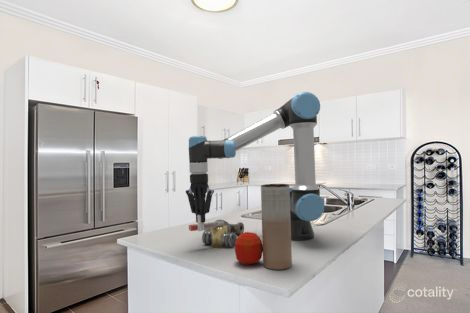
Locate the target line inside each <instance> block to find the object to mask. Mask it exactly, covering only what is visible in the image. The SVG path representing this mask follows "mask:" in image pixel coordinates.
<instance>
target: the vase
mask: <svg viewBox="0 0 470 313" xmlns="http://www.w3.org/2000/svg"><path fill="white" fill-rule="evenodd" d="M290 188H291V187H290V184H285V183H270V184H269V183H267V184H261V185H260V202H261V203H260V205H261V206H260V207H261V233H262V234H261V237H262V239H261V240H262V245H263V252H262V262H263V263H262V264H263V266H264V268H266V269H269V270H272V271H282V270H288V269H290V268H291V267H292V265H293V263H292V262H293V256H292V240H291V218H290Z"/></svg>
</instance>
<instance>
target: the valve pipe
mask: <svg viewBox="0 0 470 313" xmlns="http://www.w3.org/2000/svg"><path fill="white" fill-rule="evenodd" d="M237 237H238V236H237V233H231V232H227V226H223V227H214V228H211V230H205V231H204V230H203V233H202V237H201V242H202V243H203V244H204V245H211V247H212V248H215V249H218V248H219V249H221V248H226V247H227V248H235V241H236V239H237Z"/></svg>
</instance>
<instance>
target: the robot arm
mask: <svg viewBox="0 0 470 313" xmlns="http://www.w3.org/2000/svg"><path fill="white" fill-rule="evenodd" d="M320 110H321V102H320V100H319V98H318V97H317V95H315V93H312V92H309V91H301V92H299V93H297V94H295V95H293V97H291V98H290V99H289V100H288V101H287V102H285V103H284V104H283V105H282V106H280V107H279V108H277V109H275V110H273V113H272V114H270V115H269V116H266V117H264V118H262V119H260V120H258V121H257V122H255V123H253V124H251V125H249V126H247V127H245V128H243V129H241V130H240V131H238V132H236V133H234V134H231V135H229V136H228V137H226V138H224V139H221V140H218V139H217V140H208V139H207V136H206V135H193V136H190V137H189V138H188V161H189V166H188V167H189V183H190V186H189V188H188V189H187V190H185V194H186V196H187V198H188V199H187V200H188V203H189V207H190V211H191V213H192V214H195V222H196V223H197V224H198V230H197V231H198V232H203V231H204V223H206V214H209V213H210V210H211V209H210V208H211V204H212V198H213V195H214V193H215V190H214V189H211V188H210V186H209V184H208V183H209V174H208V171H209V170H208V167H209V166H208V159H219V160H222V159H231V158H232V159H233V158H235V157H236V153H237V151H239V150H241V149H243V148H245V147H247V146H249V145H251V144H252V143H254V142H256V141H258V140H261V139H262V138H264V137H266V136H268V135H270V134H271V133H274V132H276V131H277V130H280V129H283V130H285V129H286V128H288V127H289V128H291V129H292V131H293V132H292V135H293V157H294V159H293V162H294V186H293V187H290V218H291V241H307V240H311V239H314V238H315V233H314V232H315V231H314V229H313V226H312V223H311V222H314V221H316V220H318V219H319V218H320V217H321V216H322V215H323V213H324V211H325V203H324V200H323V198H322V197H321V190H320V187H319V186H318V185H317V184H316V180H317V179H316V161H315V160H316V158H315V156H316V155H315V134H314V130H315V129H314V128H315V127H316V126H317V125H318V114H319V112H320Z"/></svg>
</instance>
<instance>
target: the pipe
mask: <svg viewBox="0 0 470 313" xmlns="http://www.w3.org/2000/svg"><path fill="white" fill-rule="evenodd" d="M216 221H223V222H224V226H227V232H231V233H235V234H236V235H238V236H239V235H240V234H242V233H244V232H245V225H244V223H243V222H242V221H239V222H237V223H236V224H234V223H229V222H228V221H227V220H224V219H217V220H216ZM205 230H211V228H207V229H204V230H203V232H204V231H205Z"/></svg>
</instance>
